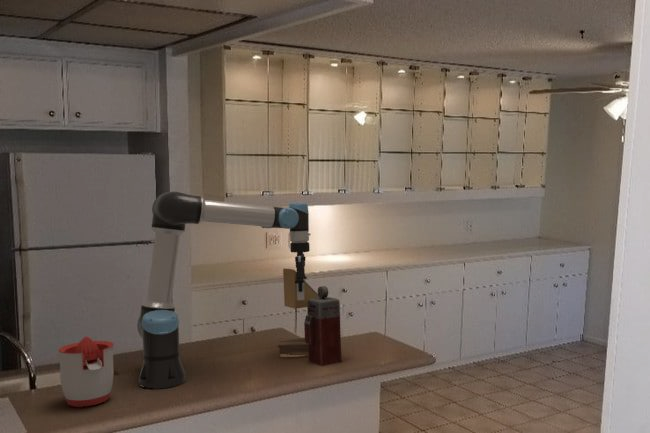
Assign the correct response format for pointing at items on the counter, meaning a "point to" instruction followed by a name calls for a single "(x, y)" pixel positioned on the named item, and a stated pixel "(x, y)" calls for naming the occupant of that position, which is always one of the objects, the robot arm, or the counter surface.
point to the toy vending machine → (323, 329)
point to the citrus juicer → (86, 372)
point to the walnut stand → (293, 346)
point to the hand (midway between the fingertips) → (301, 297)
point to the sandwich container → (295, 290)
